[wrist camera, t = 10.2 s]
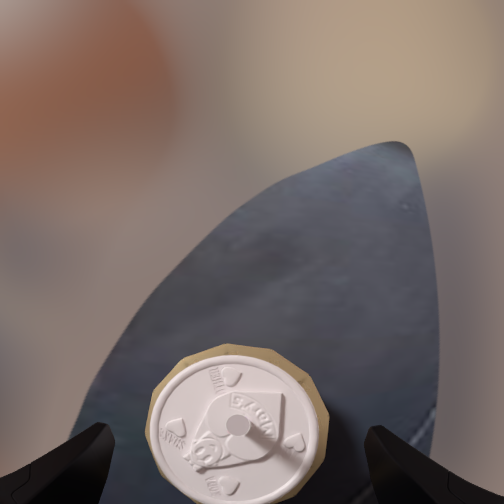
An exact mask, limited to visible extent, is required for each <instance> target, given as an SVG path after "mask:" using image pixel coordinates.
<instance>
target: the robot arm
mask: <svg viewBox="0 0 504 504" xmlns="http://www.w3.org/2000/svg"><path fill="white" fill-rule="evenodd" d="M114 446H115V439H114V436H113V434H112V432H111V429H110V427H109V425H108V424H105V423H101V422H97V423H95V424H94V425H92V426H90V427H89V428H87V429H86V430H84V431H83V432H81V433H79V434H78V435H76V436H75V437H73V438H71V439H70V440H68V441H67V442H65V443H63V444H62V445H60V446H58V447H57V448H55V449H53V450H52V451H50V452H48V453H47V454H45V455H43V456H42V457H40V458H38V459H36V460H35V461H33V462H31V464H28V465H26V466H24V467H22V468H21V469H18V470H17V471H15V472H13V473H10V474H8V475H6V476H3V477H1V478H0V504H98V503H99V500H100V497H101V494H102V492H103V489H104V486H105V483H106V480H107V477H108V473H109V468H110V464H111V459H112V455H113V450H114ZM364 448H365V453H366V457H367V462H368V467H369V472H370V477H371V481H372V484H373V488H374V490H375V493H376V496H377V499H378V502H379V504H504V496H500V495H497V494H495V493H492V492H490V491H488V490H485V489H483V488H481V487H478V486H476V485H474V484H472V483H470V482H468V481H466V480H464V479H462V478H461V477H459V476H457V475H455V474H454V473H452V472H451V471H448V470H447V469H446V468H444V467H443V466H441V465H439V464H438V463H436V462H435V461H433V460H432V459H430V458H429V457H427V456H426V455H424V454H423V453H421V452H420V451H418V450H417V449H415V448H414V447H412V446H411V445H409V444H408V443H406V442H405V441H403V440H402V439H401V438H399V437H398V436H396V435H395V434H393V433H392V432H391V431H389V430H388V429H386V428H385V427H384V426H382V425H377V426H372V427H370V428H369V430H368V433H367V436H366V439H365V442H364Z"/></svg>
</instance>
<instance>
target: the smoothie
mask: <svg viewBox="0 0 504 504" xmlns="http://www.w3.org/2000/svg"><path fill="white" fill-rule="evenodd" d="M150 441H151V446H152V450H153V453H154V456H155V459H156V461H157V463H158V465H159V467H160V468H161V470H162V472H163V473H164V474H165V476H166V477H167V478H168V479H169V480H170V482H171V483H172V484H173V485H174V486H176V487H177V488H178V489H179V490H180V491H182V492H183V493H184V494H186V495H187V496H189V497H191V498H193V499H194V500H197V501H199V502H201V503H204V504H268V503H271V502H273V501H275V500H277V499H279V498H281V497H282V496H284V495H285V494H287V493H288V492H290V491H291V490H292V489H293V488H294V487H296V486H297V485H298V484H299V482H300V481H301V480H302V479H303V478H304V476H305V475H306V474H307V472H308V470H309V469H310V467H311V465H312V463H313V461H314V458H315V455H316V452H317V447H318V441H319V426H318V420H317V415H316V412H315V409H314V406H313V404H312V402H311V400H310V398H309V397H308V395H307V393H306V392H305V391H304V389H303V388H302V387H301V385H300V384H299V383H298V382H297V381H296V380H295V379H294V378H293V377H292V376H290V375H289V374H288V373H286V372H285V371H284V370H282V369H280V368H279V367H277V366H275V365H273V364H271V363H269V362H266V361H264V360H261V359H257V358H253V357H248V356H240V355H225V356H217V357H212V358H208V359H205V360H202V361H199V362H197V363H194V364H192V365H190V366H189V367H187V368H185V369H184V370H182V371H181V372H179V373H178V374H177V375H176V376H174V377H173V378H172V379H171V380H170V381H169V382H168V384H167V385H166V386H165V387H164V389H163V390H162V392H161V393H160V395H159V397H158V398H157V400H156V403H155V405H154V408H153V411H152V415H151V420H150Z"/></svg>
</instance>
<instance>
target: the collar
mask: <svg viewBox="0 0 504 504" xmlns="http://www.w3.org/2000/svg"><path fill="white" fill-rule="evenodd" d="M225 355H240V356H248V357H253V358H257V359H261V360H264V361H266V362H269V363H271V364H273V365H275V366H277V367H279V368H280V369H282V370H284V371H285V372H286V373H288V374H289V375H290V376H292V377H293V378H294V379H295V380H296V381H297V382H298V383H299V384H300V385H301V387H302V388H303V389H304V391H305V392H306V393H307V395H308V397H309V398H310V400H311V402H312V404H313V406H314V409H315V412H316V415H317V420H318V426H319V441H318V447H317V452H316V455H315V458H314V461H313V463H312V465H311V467H310V469H309V470H308V472H307V474H306V475H305V476H304V478H303V479H302V480H301V481H300V482H299V484H298V485H297V486H296V487H294V488H293V489H292V490H291V491H290V492H288V493H287V494H285V495H284V496H282V497H281V498H279V499H277V500H275V501H273V502H271V503H268V504H276V503H278V502H281V501H284V500H286V499H289V498H291V497H294V495H296V494H297V493H298V492H299V491H300V489H301V488H302V487H303V486H304V485H305V484H306V482H307V481H308V480H309V479H310V478H311V476H312V475H313V474H314V473H315V471H316V470H317V469H318V468H319V466H320V465H321V464H322V462H323V461H324V460H323V459H325V452H326V444H327V435H328V426H329V416H328V415H329V413H328V411H327V409H326V407H325V405H324V403H323V401H322V399H321V397H320V395H319V393H318V391H317V389H316V387H315V385H314V383H313V381H312V379H311V377H310V376H309V374H307V373H306V372H304V371H303V370H301V369H300V368H298V367H297V366H295V365H294V364H292V363H291V362H289V361H288V360H286V359H285V358H284V357H282V356H281V355H279V354H278V353H276V352H275V351H273V350H272V351H271V349H265V348H256V347H248V346H240V345H233V344H226V345H225V344H223V345H220V346H217V347H214V348H212V349H209V350H206V351H203V352H200V353H197V354H194V355H191V356H188V357H185V358H183V359H184V360H183V359H182V360H181V361H180V362H179V363H178V364H177V365H176V366H175V367H174V369H173V370H172V371H171V372H170V373H169V374H168V375H167V376H166V377H165V378H164V379H163V381H162V382H161V383H160V384H159V385H158V386H157V387H156V388H155V389H154V391H155V392H153V394H152V399H151V403H150V408H149V413H148V419H147V424H146V429H145V433H147V434H145V435H146V438H147V441H148V444H149V446H150V449H151V452H152V454H153V457H154V459H155V456H154V453H153V450H152V446H151V441H150V420H151V415H152V411H153V408H154V405H155V403H156V400H157V398H158V397H159V395H160V393H161V392H162V390H163V389H164V387H165V386H166V385H167V384H168V382H169V381H170V380H171V379H172V378H173V377H174V376H176V375H177V374H178V373H179V372H181V371H182V370H184V369H185V368H187V367H189V366H190V365H192V364H194V363H197V362H199V361H202V360H205V359H208V358H212V357H217V356H225ZM308 376H309V377H308ZM155 462H156V464H157V467H158V469H159V472H160V474H163V475H162V477H164V478H165V479H166V480H167V481H168V482H170V480H169V479H168V478H167V477H166V476H165V474H164V473H163V472H162V470H161V468H160V467H159V465H158V463H157V461H156V459H155ZM170 483H171V482H170ZM171 484H172V483H171ZM172 485H173V484H172ZM173 486H174V485H173ZM175 487H176V486H175ZM176 488H177V487H176ZM177 489H178V488H177ZM178 490H179V489H178ZM181 492H182V491H181ZM182 493H183V492H182ZM183 494H184V493H183ZM185 495H186V494H185ZM186 496H187V495H186ZM187 497H189V496H187ZM189 498H190V499H191V500H193V501H194V502H195V503H197V504H199V503H200V504H204V503H201V502H199V501H197V500H194V499H193V498H191V497H189Z"/></svg>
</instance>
